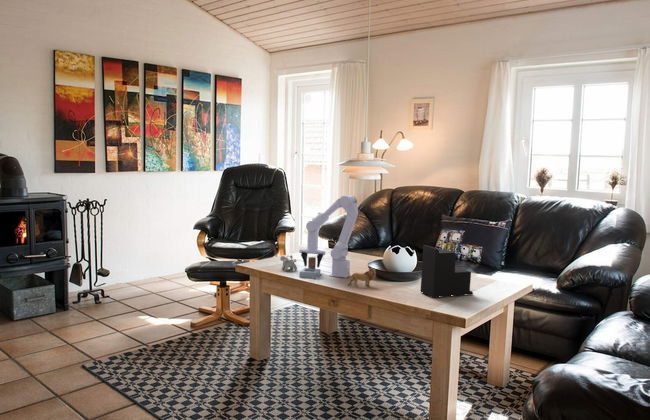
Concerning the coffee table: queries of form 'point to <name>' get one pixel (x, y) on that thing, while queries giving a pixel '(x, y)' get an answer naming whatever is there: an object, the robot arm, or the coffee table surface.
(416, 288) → the coffee table surface
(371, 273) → the lion figurine
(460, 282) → the bookend
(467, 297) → the coffee table surface
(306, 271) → the socket
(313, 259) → the peg
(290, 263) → the elephant statuette
